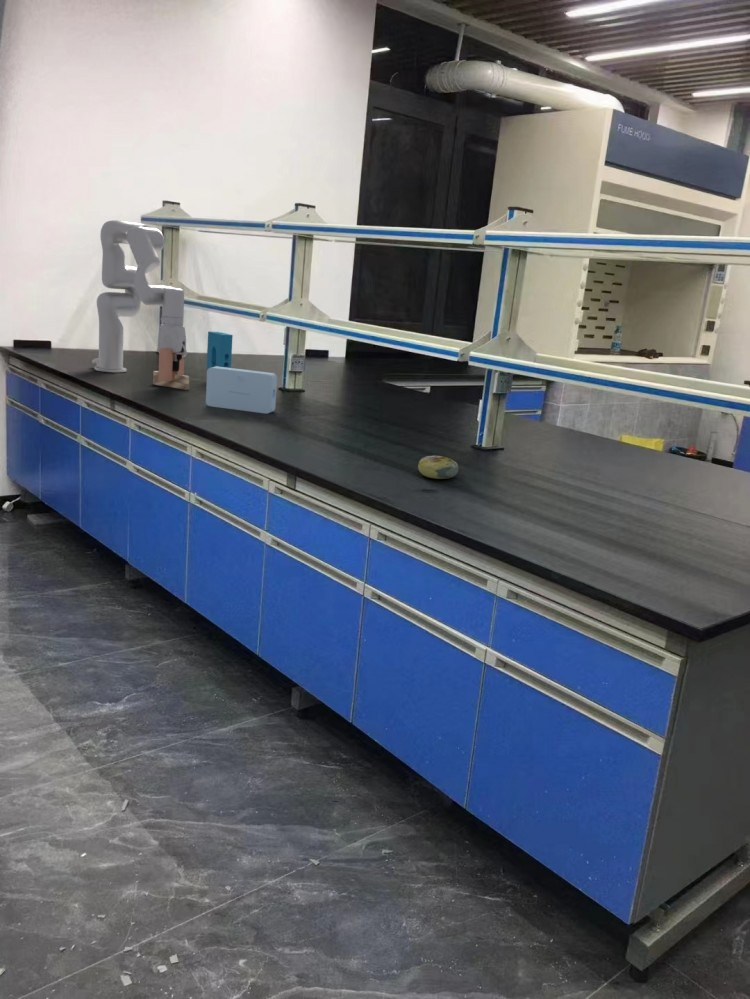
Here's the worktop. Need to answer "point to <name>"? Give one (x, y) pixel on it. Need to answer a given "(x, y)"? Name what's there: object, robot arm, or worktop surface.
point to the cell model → (438, 467)
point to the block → (219, 350)
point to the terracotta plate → (168, 365)
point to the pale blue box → (241, 389)
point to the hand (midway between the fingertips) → (171, 370)
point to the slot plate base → (179, 382)
